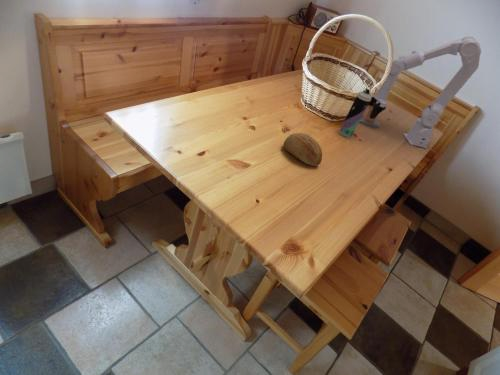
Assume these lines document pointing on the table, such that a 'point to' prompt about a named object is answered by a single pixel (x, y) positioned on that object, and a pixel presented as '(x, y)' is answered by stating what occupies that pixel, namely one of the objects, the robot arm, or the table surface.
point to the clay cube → (368, 114)
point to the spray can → (355, 113)
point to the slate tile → (370, 122)
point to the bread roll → (304, 148)
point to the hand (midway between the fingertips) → (369, 114)
